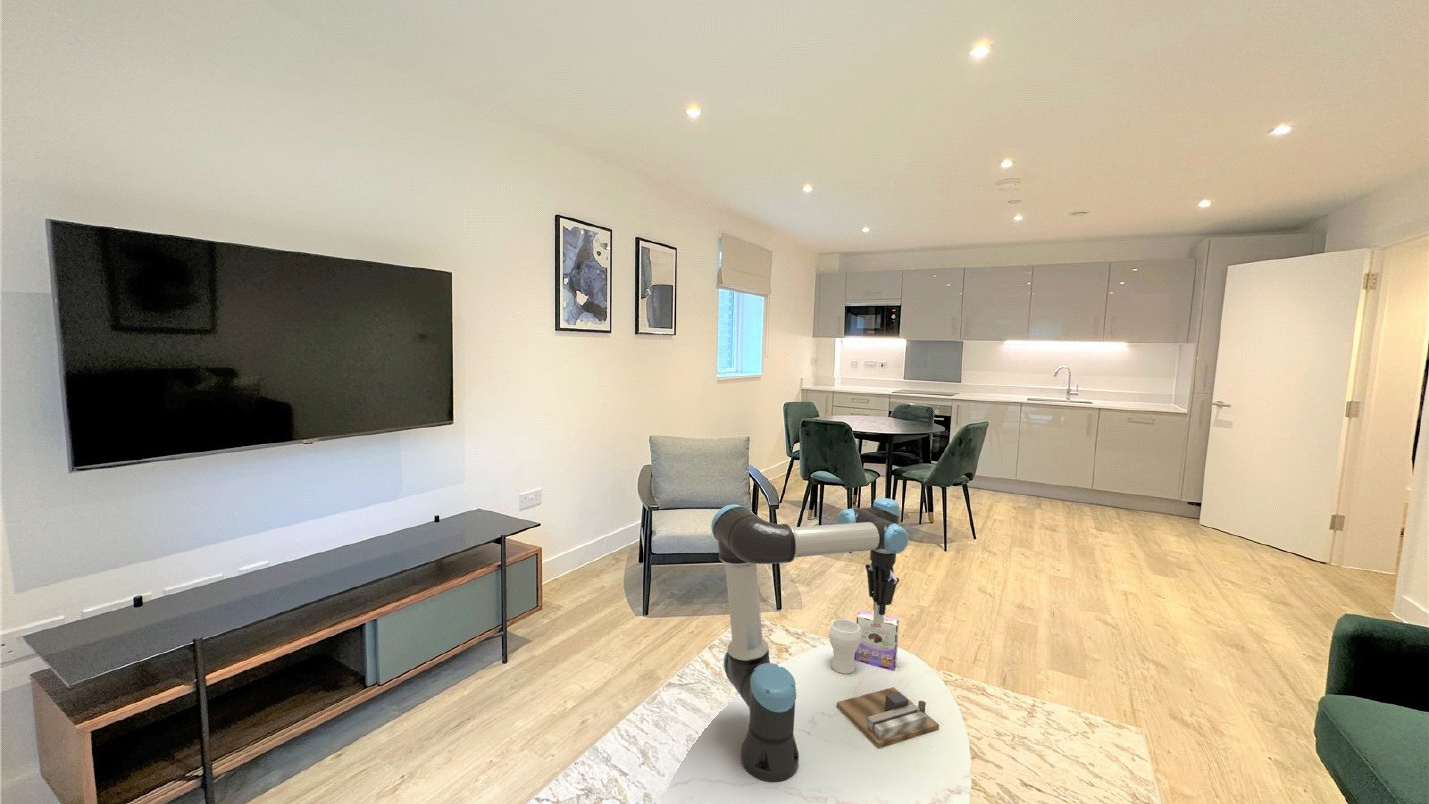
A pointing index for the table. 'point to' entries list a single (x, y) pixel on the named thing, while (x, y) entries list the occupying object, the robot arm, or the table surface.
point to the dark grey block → (895, 701)
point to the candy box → (877, 641)
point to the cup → (844, 644)
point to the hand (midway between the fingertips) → (878, 622)
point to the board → (874, 708)
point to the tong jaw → (890, 715)
